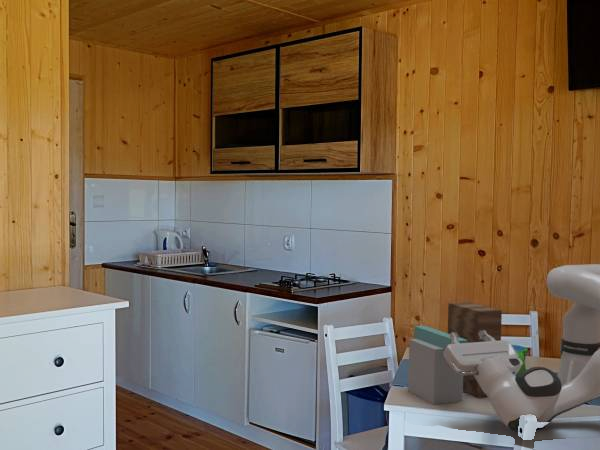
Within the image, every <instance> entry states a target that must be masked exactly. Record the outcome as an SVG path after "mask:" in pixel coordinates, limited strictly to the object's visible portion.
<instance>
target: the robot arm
mask: <svg viewBox="0 0 600 450" xmlns="http://www.w3.org/2000/svg"><path fill="white" fill-rule="evenodd" d="M545 284H546V287H547V290H548V292H549V293H550V295H552V297H555V298H560V299H563V300H567V301H571V302H573V303H572V306H571V308H570V309H568V310H567V311H566V312H565V314H564V315H563V321H562V338H561V341H560V356H561V358H560V364H559V368H558V372H557V374H556V373H555V372H554V371H552V369H549V368H546V367H544V366H533V367H529V368H528V369H526V370H525V371H523V372H521V373H519V374H518V375H517V376H515V375H516V374H517V373H518V371H519V370H520V368H521V366H522V364H523V362H522V360H521V359H520V358H518V354H517V352H516V351H515V349H514V348H513V346H512V345H513V344H512V343H511V342H509V341H508V340H507V339H501V340H500V341H496V340H495V339H494V338H493V337H491V336H490V335H488V334H487V333H486V331H485V330H482V331H479V333H478V335H479V336H480V339H484V340H485V341H486V342H473V343H459V342H458V341H457V339H458V337H459V336H458V334H457V333H456V332H453V333H451V334H450V339H451V340H452V344H449V345H447V347H446V348H445V350H444V353H443V355H444V357H445V359H446V360H447V362H448V363H449V365H450V366H451V367H452V368H453V369H454V371H455V372H456V373H458V374H461V375H462V376H467V375H474V377H475V379H476V380H477V382H478V384H479V385H480V387H481V389H482V390H483V392H484V393H485V394H486V395H487V396H488V397H487V398H488V399H489V400H488V401H489V403H490V405H491V407H492V408H493V410H494V412H495V413H496V415H497V416H498V418H499V419H500V421H501V422H502V423H503V424H504V425H505V426H506V427H507V428H508V429H510V430H511V431H512V432H519V431H518V426H519V419H520V416H521V415H527V414H532V415H535V416H536V418H537V421H538V422H550V423H551V422H552V421H553V420H554V419H555V418H556V417H558V416H560V415H562V414H565V413H566V412H569V411H572V410H573V409H576V408H578V407H581V406H583V405H586V404H587V403H590V402H592V401H594V400H596V399H598V398H599V397H600V263H599V264H598V263H593V264H591V263H589V264H565V265H561V266H558V267H555V268H552V269H551V270H550V271H549V272H548V274H547V276H546V283H545Z"/></svg>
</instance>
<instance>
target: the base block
mask: <svg viewBox="0 0 600 450" xmlns="http://www.w3.org/2000/svg"><path fill="white" fill-rule="evenodd" d="M408 340H409V343H408V381H407V382H408V383H407V385H408V386H407V391H408V392H410V393H412V394H413V395H416V397H419V398H421V399H423V400H424V401H426V402H429V403H430V404H432V405H441V404H448V403H449V404H450V403H457V402H463V401H464V391H463V376H462V375H461V374H458V373H456V372H455V371H454V369H453V368H452V367H451V366H450V365H449V363H448V362H447V360H446V359H445V357H444V355H443V353H444V350H445V349H444V348H441V347H439V346H436V345H433V344H431V343H428V342H425V341H423V340H420V339H417V338H409V339H408Z"/></svg>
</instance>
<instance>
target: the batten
mask: <svg viewBox="0 0 600 450" xmlns="http://www.w3.org/2000/svg"><path fill="white" fill-rule="evenodd" d="M413 328H414V329H413V337H414V339H420V340H423V341H425V342H428V343H431V344H433V345H436V346H439V347H441V348H444V349H445V348H446V347H447V345H449V344H452V340H451V339H450V334H448V332H444V331H441V330H439V329H435V328H432V327H429V326H426V325H414V327H413ZM457 341H458V342H459V343H468V340H466V339H463V338H460V337H458V339H457Z"/></svg>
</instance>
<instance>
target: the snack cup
mask: <svg viewBox="0 0 600 450" xmlns="http://www.w3.org/2000/svg"><path fill="white" fill-rule="evenodd" d="M511 345H512V346H513V348H514V349H515V351H516V352H517V354H518V358H520V359H521V360H522V362H523V364H522V366H521V368H520V370H519V371H518V373H517V374H516V375H515V376H517V375H518V374H519V373H521V372H523V371H525V370H527V369H526V367H527V366H526V356H527V354H529V350H528V347H526V346H523V345H518V344H511Z"/></svg>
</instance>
